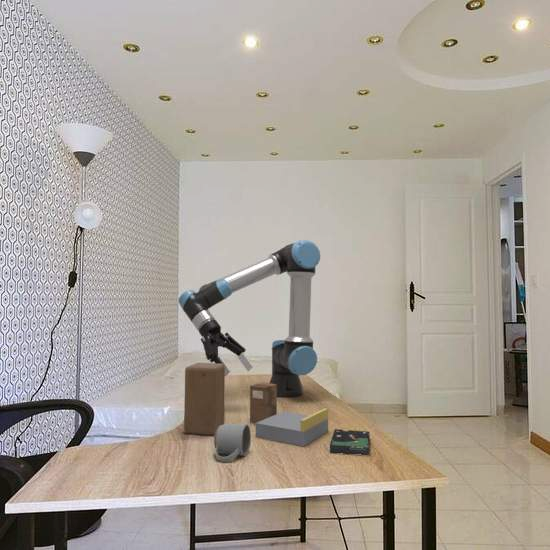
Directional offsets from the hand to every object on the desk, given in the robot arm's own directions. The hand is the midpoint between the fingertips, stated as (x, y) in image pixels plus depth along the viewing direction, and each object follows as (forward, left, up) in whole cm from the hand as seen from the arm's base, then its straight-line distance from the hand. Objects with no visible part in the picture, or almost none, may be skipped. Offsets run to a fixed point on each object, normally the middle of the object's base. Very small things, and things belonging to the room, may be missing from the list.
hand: (239, 371), depth 151 cm
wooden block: (+18, 0, -16) cm, 24 cm away
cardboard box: (0, +10, -16) cm, 18 cm away
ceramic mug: (+31, +20, -16) cm, 40 cm away
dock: (+7, +25, -16) cm, 30 cm away
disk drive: (+7, +43, -16) cm, 47 cm away
